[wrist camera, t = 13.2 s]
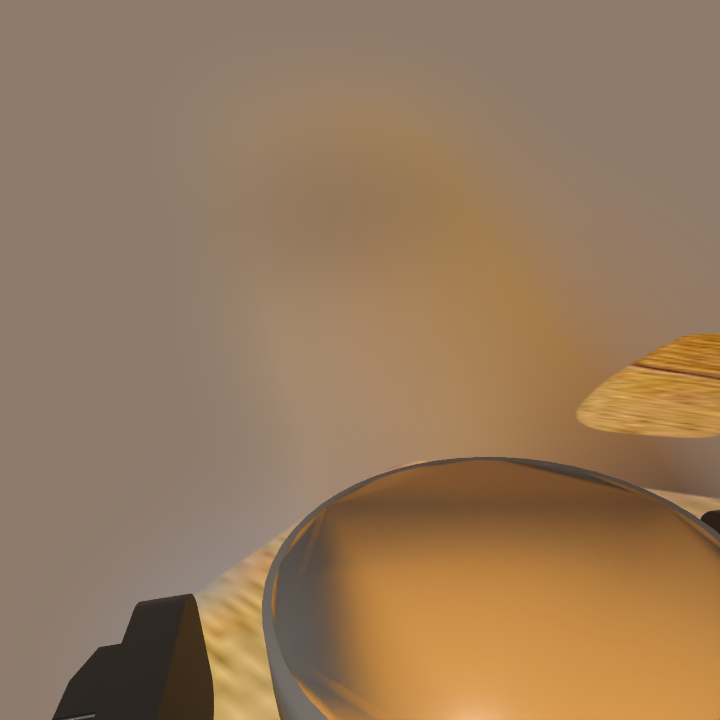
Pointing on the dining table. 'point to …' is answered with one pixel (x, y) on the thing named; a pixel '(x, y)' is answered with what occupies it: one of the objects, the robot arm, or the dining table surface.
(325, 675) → the cap
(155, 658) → the robot arm
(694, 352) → the dining table surface
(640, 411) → the dining table surface
